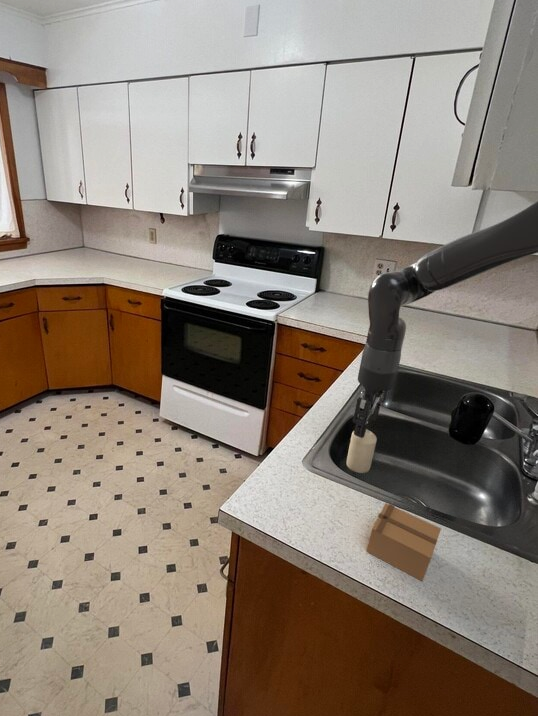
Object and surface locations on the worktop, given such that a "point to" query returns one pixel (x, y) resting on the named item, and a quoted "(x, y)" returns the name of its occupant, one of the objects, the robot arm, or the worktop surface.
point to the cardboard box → (403, 541)
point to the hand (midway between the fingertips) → (365, 427)
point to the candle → (361, 452)
